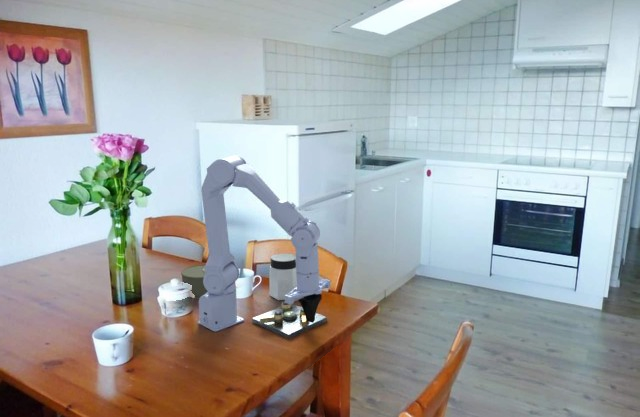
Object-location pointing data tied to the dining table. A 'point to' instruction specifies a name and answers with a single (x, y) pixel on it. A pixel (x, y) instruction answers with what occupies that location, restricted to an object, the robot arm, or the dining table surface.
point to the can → (195, 279)
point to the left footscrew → (272, 318)
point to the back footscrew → (286, 307)
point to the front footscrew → (303, 317)
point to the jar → (282, 275)
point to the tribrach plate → (289, 322)
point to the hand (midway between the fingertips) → (309, 321)
